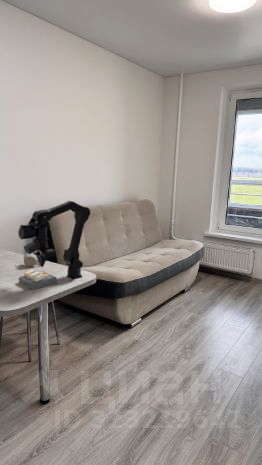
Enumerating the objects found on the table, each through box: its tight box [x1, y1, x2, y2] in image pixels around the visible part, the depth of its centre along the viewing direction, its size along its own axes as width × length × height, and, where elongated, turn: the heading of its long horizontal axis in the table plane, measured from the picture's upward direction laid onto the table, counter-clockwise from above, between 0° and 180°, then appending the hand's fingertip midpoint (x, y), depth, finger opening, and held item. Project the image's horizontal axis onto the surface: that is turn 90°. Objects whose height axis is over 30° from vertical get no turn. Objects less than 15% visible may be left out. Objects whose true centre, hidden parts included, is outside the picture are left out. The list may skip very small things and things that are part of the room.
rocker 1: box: [23, 268, 37, 277], centre depth 168 cm, size 5×3×2 cm, turn 136°
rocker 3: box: [32, 274, 45, 282], centre depth 162 cm, size 5×3×2 cm, turn 136°
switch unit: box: [18, 270, 58, 291], centre depth 167 cm, size 14×14×3 cm
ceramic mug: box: [23, 252, 41, 268], centre depth 194 cm, size 11×8×8 cm
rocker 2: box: [28, 271, 40, 279], centre depth 165 cm, size 5×3×2 cm, turn 136°
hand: (41, 266), depth 162 cm, fingers closed
